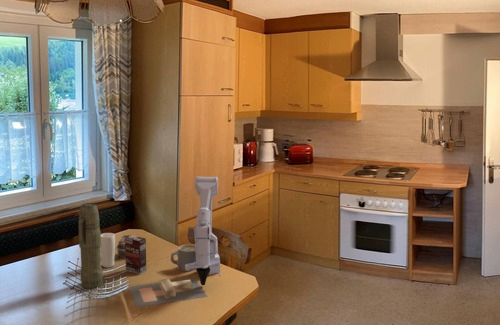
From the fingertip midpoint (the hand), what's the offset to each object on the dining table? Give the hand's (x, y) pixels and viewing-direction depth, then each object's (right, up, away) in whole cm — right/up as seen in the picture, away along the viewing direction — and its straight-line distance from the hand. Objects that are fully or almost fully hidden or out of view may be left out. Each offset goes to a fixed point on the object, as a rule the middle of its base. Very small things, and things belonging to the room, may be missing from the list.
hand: (202, 284), depth 212 cm
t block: (-10, -2, -4) cm, 11 cm away
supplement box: (-32, +1, +19) cm, 37 cm away
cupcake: (-41, +5, +38) cm, 56 cm away
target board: (-14, -3, -5) cm, 15 cm away
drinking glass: (-46, +2, +25) cm, 52 cm away
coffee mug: (-10, +2, +23) cm, 25 cm away
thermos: (-47, -1, +3) cm, 47 cm away
